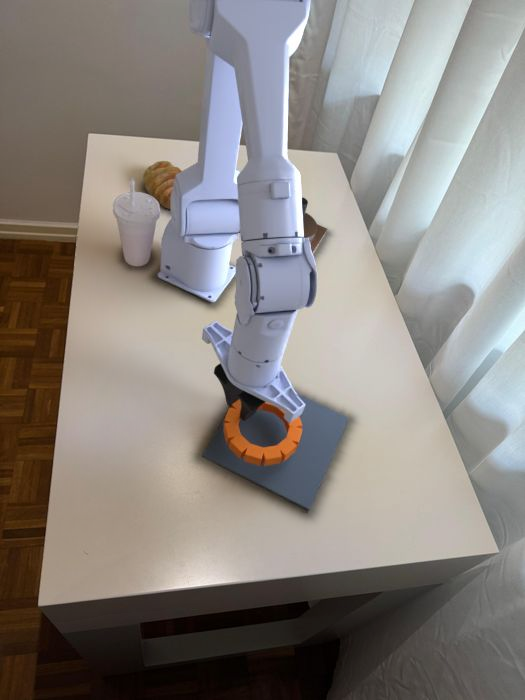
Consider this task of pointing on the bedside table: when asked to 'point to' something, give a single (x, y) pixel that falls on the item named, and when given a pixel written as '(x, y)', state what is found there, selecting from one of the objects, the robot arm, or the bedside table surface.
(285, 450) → the ring
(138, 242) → the smoothie
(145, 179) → the pastry
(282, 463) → the mat
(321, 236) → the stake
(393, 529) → the bedside table surface
